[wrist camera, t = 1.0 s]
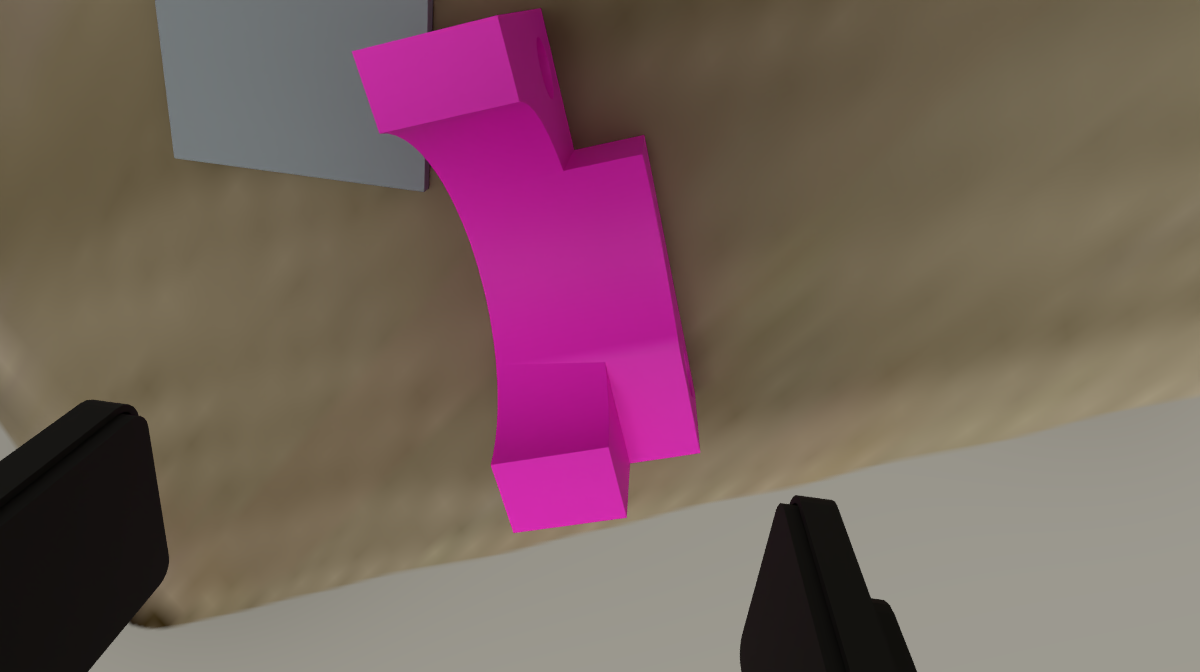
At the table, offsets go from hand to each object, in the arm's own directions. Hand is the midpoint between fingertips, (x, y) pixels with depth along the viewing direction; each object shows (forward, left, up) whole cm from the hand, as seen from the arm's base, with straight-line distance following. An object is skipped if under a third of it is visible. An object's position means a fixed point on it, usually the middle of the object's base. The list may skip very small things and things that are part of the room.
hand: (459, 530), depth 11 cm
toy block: (0, +1, -18) cm, 18 cm away
